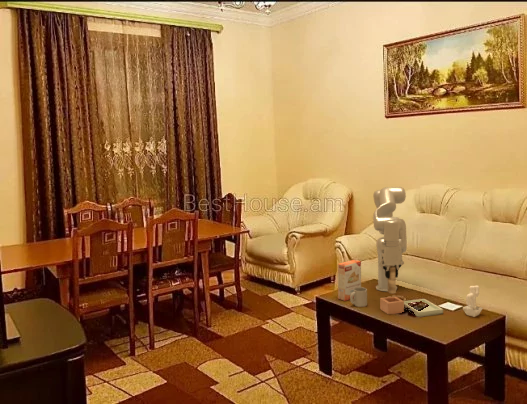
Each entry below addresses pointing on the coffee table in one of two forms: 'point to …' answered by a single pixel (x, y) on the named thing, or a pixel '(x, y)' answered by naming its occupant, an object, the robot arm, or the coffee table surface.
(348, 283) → the cracker box
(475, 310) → the figurine
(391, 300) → the holder
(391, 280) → the dowel
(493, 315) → the coffee table surface
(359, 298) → the cup
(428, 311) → the tray
